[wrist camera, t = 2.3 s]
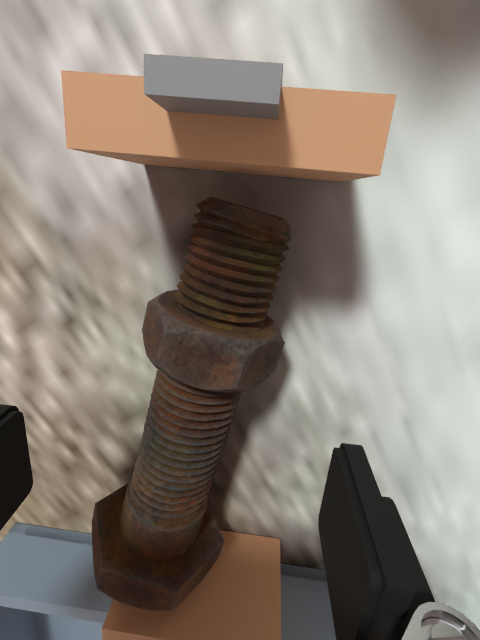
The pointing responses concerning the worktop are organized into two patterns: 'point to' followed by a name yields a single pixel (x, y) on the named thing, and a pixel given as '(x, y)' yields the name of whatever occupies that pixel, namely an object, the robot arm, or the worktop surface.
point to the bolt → (192, 407)
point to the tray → (93, 605)
